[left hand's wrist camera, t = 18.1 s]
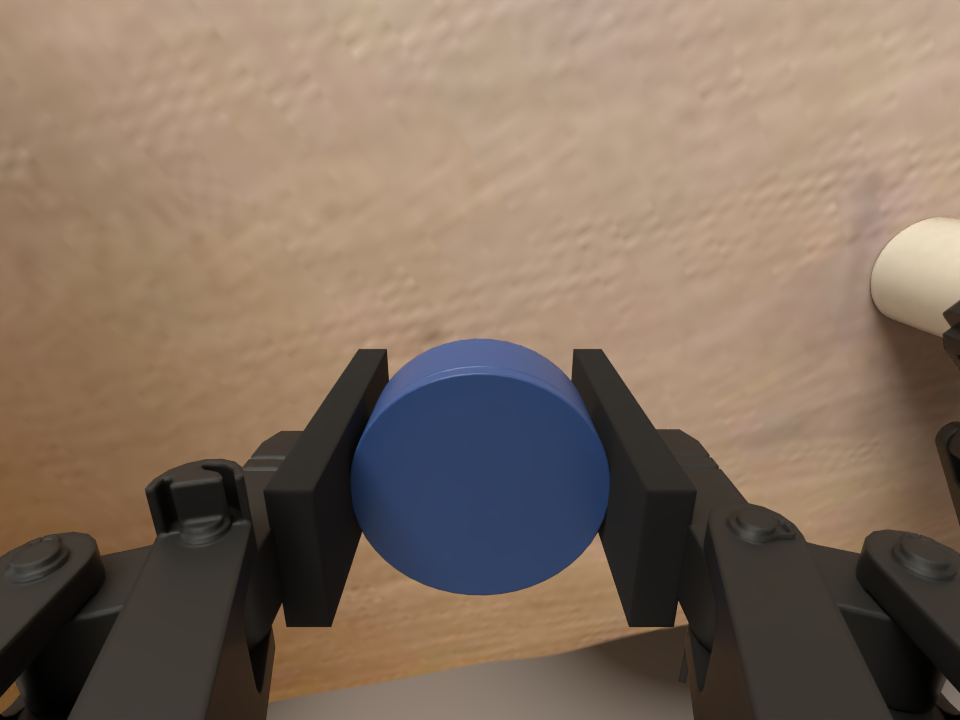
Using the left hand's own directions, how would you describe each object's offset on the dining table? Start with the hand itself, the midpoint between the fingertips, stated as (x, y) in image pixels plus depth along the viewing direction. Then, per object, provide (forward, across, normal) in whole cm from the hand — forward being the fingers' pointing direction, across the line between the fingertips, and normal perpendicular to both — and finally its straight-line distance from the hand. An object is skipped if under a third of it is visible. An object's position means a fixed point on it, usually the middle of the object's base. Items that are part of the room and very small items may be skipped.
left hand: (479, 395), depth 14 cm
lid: (-4, 0, 0) cm, 4 cm away
